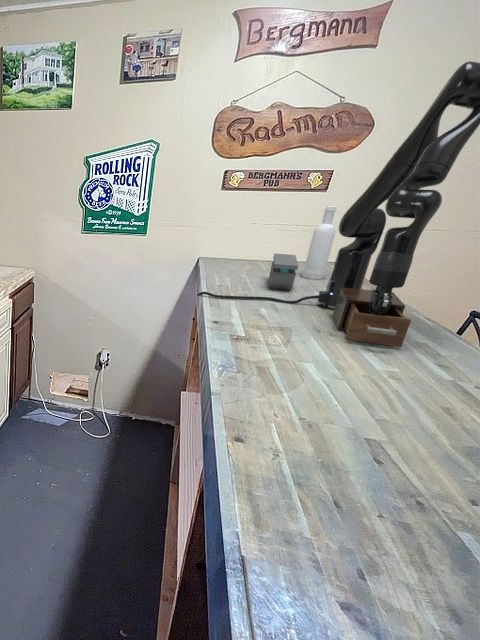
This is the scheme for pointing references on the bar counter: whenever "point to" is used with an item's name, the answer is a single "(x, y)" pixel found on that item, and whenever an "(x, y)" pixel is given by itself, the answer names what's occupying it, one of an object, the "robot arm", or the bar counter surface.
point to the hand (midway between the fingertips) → (371, 328)
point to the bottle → (320, 246)
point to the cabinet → (356, 297)
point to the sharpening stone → (283, 271)
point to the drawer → (375, 325)
